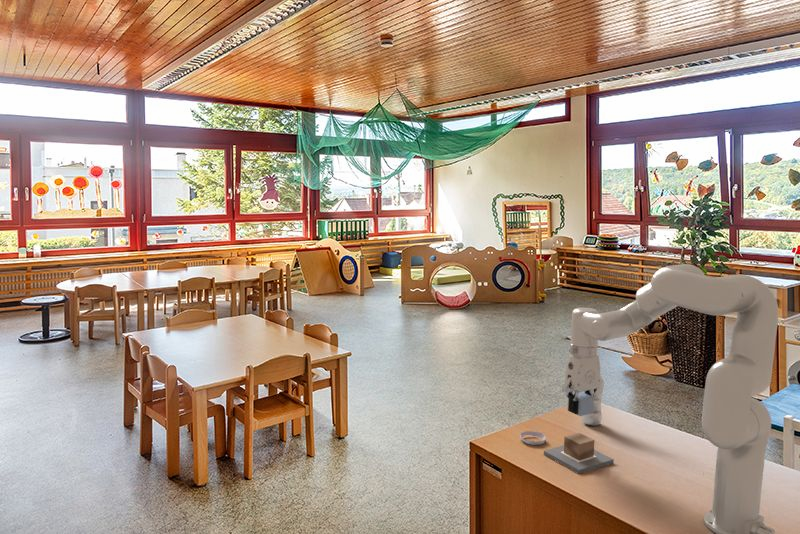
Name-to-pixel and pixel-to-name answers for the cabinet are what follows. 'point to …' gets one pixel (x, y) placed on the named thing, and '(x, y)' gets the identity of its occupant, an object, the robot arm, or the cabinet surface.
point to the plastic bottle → (595, 408)
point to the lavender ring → (533, 435)
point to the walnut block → (579, 446)
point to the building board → (575, 464)
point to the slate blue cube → (584, 404)
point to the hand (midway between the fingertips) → (580, 410)
